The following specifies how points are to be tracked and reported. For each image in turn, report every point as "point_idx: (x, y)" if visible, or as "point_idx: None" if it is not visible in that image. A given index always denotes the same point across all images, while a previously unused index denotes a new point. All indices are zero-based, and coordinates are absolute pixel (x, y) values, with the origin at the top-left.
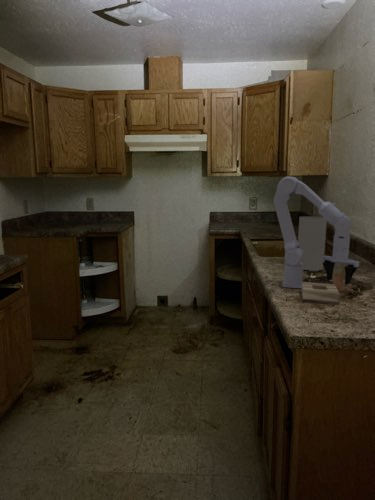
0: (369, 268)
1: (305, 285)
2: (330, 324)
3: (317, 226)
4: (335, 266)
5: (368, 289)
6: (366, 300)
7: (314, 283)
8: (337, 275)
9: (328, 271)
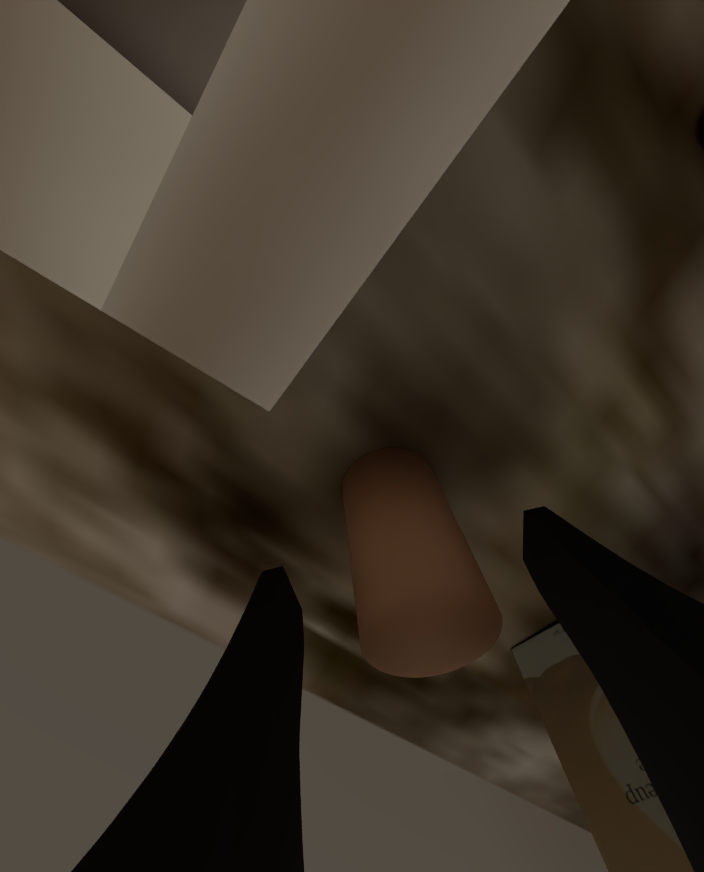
0: None
1: None
2: None
3: None
4: None
5: (313, 683)
6: (11, 514)
7: (510, 1)
8: (456, 634)
9: (624, 613)
